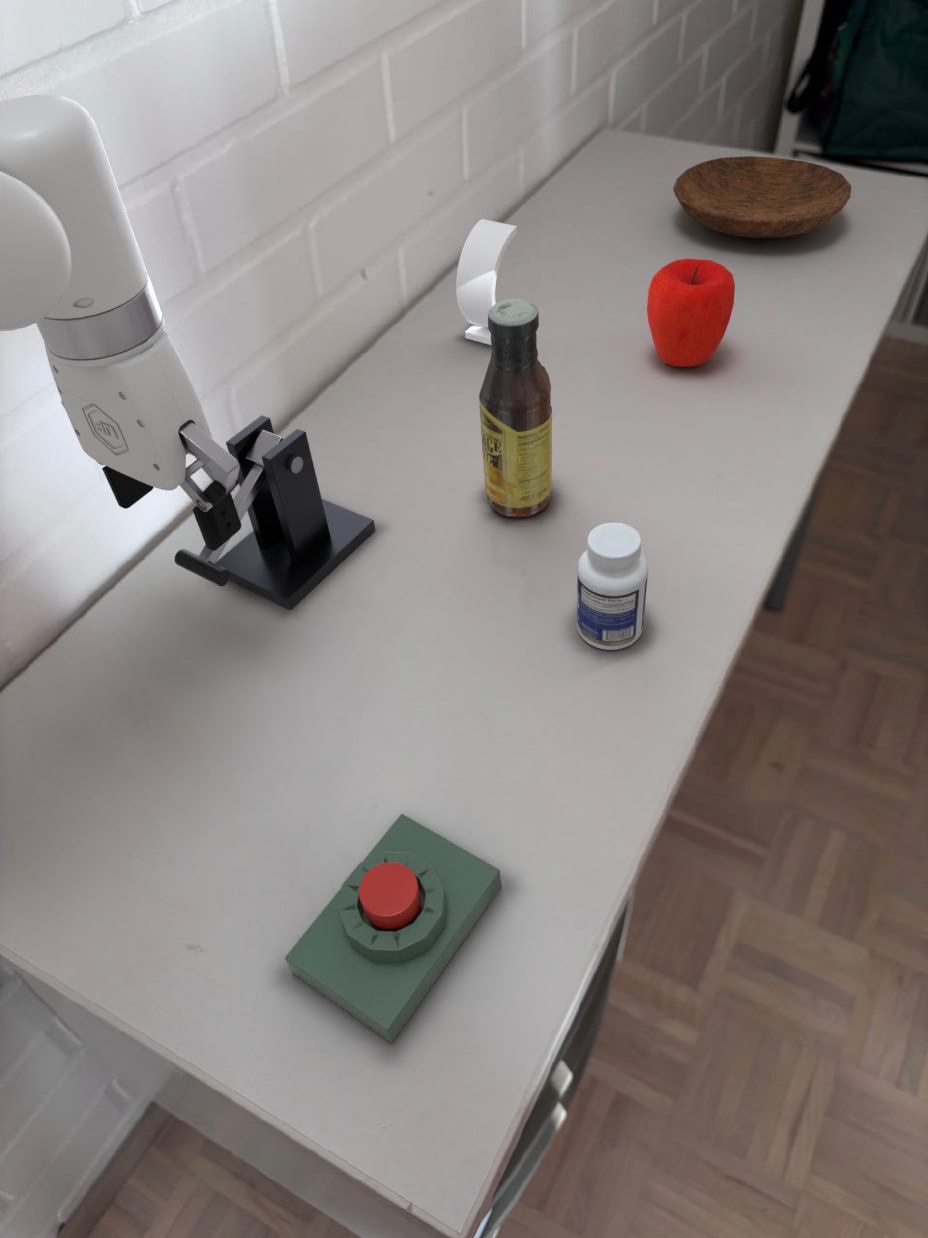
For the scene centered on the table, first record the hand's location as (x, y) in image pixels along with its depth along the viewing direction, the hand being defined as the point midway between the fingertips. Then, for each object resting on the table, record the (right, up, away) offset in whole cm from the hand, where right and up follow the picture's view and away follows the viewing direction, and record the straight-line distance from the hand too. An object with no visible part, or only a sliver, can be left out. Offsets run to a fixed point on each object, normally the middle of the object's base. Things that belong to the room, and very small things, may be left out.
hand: (180, 517), depth 73 cm
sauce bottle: (+27, +3, +17) cm, 32 cm away
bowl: (+60, +44, +52) cm, 91 cm away
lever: (+4, +1, +6) cm, 7 cm away
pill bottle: (+34, -9, +5) cm, 35 cm away
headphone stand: (+25, +25, +38) cm, 52 cm away
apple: (+46, +20, +31) cm, 59 cm away
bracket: (+7, -2, +14) cm, 15 cm away
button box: (+18, -28, -12) cm, 35 cm away
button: (+17, -25, -15) cm, 34 cm away
